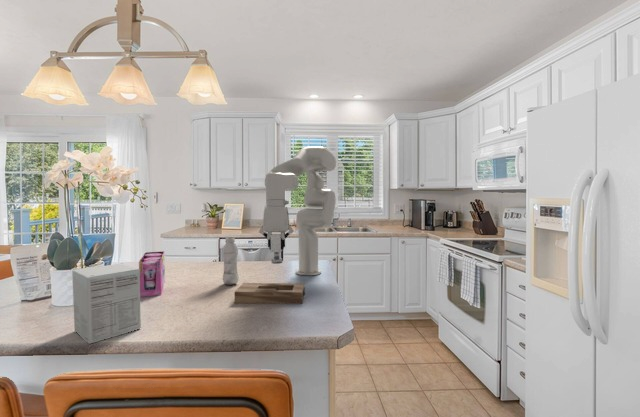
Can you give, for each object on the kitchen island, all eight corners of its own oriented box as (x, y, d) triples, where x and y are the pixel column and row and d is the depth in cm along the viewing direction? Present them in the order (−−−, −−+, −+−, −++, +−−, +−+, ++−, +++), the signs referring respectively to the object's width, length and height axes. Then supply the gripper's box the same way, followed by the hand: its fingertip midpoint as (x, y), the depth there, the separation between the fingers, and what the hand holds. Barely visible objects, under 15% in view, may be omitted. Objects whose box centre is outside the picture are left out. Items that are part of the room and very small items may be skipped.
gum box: (161, 296, 128) (160, 260, 127) (138, 298, 125) (137, 262, 125) (165, 281, 150) (164, 251, 150) (145, 283, 147) (144, 252, 147)
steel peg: (272, 261, 139) (271, 233, 138) (283, 261, 138) (282, 233, 138) (270, 263, 134) (269, 234, 133) (281, 263, 134) (280, 234, 133)
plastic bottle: (236, 286, 142) (235, 238, 141) (220, 286, 142) (219, 238, 141) (240, 282, 148) (239, 236, 147) (225, 282, 148) (224, 236, 147)
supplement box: (142, 329, 96) (140, 268, 96) (88, 345, 86) (86, 277, 86) (124, 318, 105) (122, 262, 104) (73, 331, 95) (71, 270, 94)
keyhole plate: (243, 293, 131) (243, 283, 131) (304, 293, 131) (304, 283, 130) (234, 303, 120) (234, 291, 119) (302, 303, 119) (302, 292, 119)
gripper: (297, 203, 138) (298, 247, 139) (257, 203, 139) (258, 247, 140) (295, 204, 131) (296, 250, 132) (252, 204, 131) (253, 251, 133)
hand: (276, 248), depth 136 cm, fingers closed on steel peg, 4 cm apart
